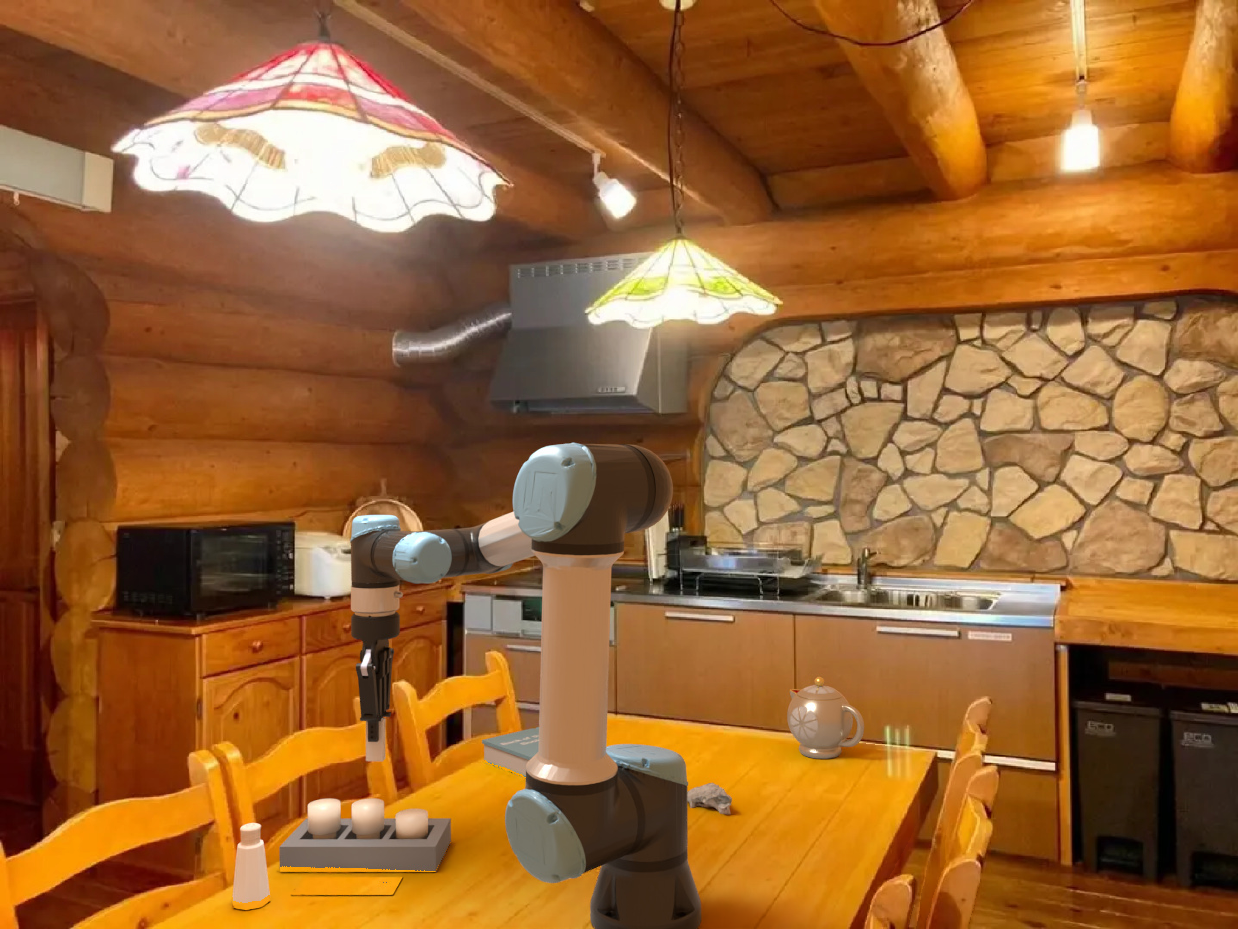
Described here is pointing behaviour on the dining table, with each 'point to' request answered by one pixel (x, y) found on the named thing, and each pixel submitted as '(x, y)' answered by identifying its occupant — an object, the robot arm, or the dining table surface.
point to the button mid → (368, 818)
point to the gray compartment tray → (368, 848)
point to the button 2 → (412, 824)
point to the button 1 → (324, 818)
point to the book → (512, 749)
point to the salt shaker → (250, 866)
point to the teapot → (822, 720)
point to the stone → (710, 798)
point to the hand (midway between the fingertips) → (375, 759)
